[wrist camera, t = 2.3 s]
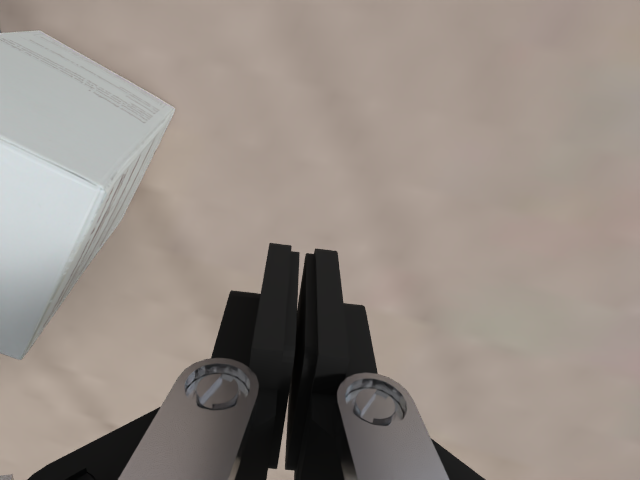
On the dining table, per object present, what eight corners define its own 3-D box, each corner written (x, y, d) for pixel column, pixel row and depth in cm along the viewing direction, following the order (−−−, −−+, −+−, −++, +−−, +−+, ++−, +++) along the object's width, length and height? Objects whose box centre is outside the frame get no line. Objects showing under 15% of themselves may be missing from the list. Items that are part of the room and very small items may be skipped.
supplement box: (-11, 154, 24) (-252, 273, 13) (39, 25, 22) (-202, 32, 11) (124, 220, 27) (19, 369, 15) (182, 109, 24) (108, 187, 13)
